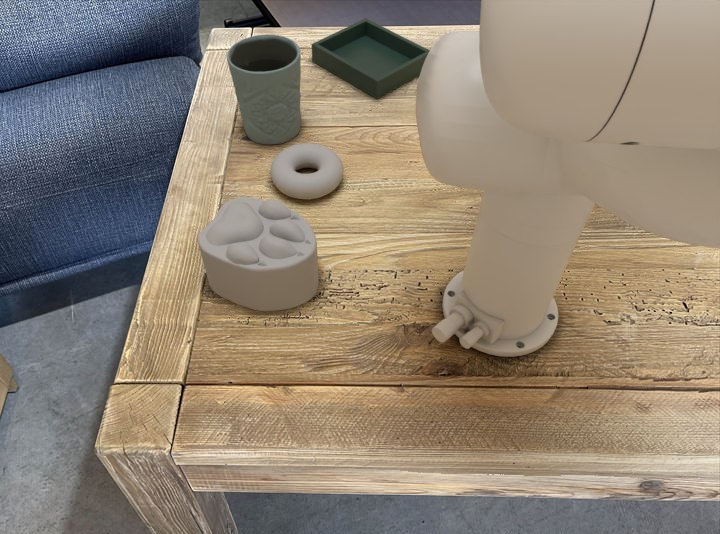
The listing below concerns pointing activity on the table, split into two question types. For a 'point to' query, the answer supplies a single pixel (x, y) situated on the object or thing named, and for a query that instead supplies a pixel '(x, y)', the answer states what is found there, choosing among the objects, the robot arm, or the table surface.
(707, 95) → the robot arm
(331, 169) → the donut
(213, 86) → the table surface
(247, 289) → the lumpy-topped squat cylinder
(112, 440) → the table surface
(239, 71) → the green embossed tumbler
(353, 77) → the tray
